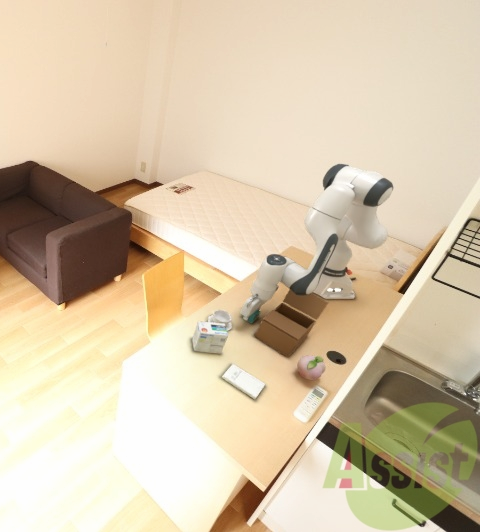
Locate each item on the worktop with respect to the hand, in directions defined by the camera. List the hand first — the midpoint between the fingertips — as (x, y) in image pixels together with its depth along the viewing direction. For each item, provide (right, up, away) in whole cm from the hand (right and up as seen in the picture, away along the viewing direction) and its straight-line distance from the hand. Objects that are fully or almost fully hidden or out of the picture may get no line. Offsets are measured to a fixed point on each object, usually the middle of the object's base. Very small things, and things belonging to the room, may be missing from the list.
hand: (251, 314), depth 154 cm
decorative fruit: (+9, -20, -22) cm, 31 cm away
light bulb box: (-24, -11, -13) cm, 30 cm away
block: (0, -2, +2) cm, 2 cm away
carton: (+9, -8, -7) cm, 14 cm away
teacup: (-15, -4, -2) cm, 15 cm away
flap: (+17, +6, -10) cm, 21 cm away
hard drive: (-15, -21, -25) cm, 37 cm away
